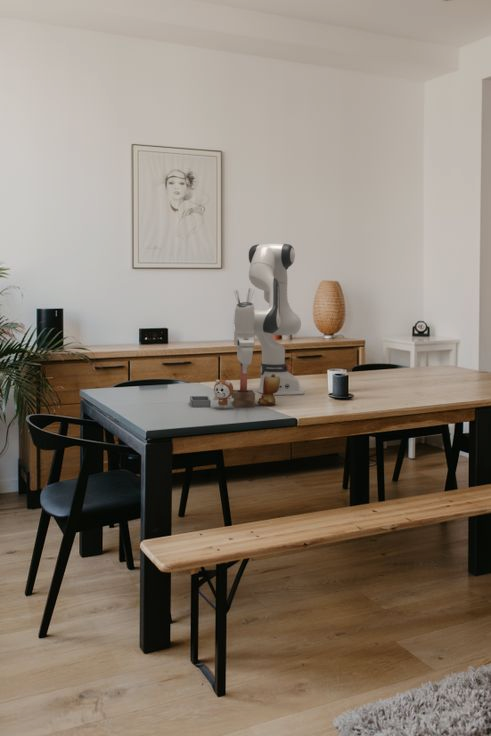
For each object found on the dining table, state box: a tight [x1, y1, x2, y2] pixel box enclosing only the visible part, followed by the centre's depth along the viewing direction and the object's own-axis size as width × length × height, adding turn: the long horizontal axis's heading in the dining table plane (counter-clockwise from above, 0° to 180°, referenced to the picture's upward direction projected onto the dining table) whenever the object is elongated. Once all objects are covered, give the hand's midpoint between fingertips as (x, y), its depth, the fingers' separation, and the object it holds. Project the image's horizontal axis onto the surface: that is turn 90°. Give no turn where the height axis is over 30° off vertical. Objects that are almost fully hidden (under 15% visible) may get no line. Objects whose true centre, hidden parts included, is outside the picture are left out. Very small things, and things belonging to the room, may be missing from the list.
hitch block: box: [230, 389, 256, 408], centre depth 299 cm, size 9×9×6 cm
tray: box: [189, 395, 211, 408], centre depth 297 cm, size 8×11×3 cm
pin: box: [239, 363, 248, 392], centre depth 298 cm, size 3×3×13 cm
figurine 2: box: [257, 374, 280, 407], centre depth 301 cm, size 10×8×15 cm
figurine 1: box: [212, 379, 234, 409], centre depth 290 cm, size 9×9×12 cm
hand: (243, 372), depth 298 cm, fingers closed on pin, 3 cm apart
